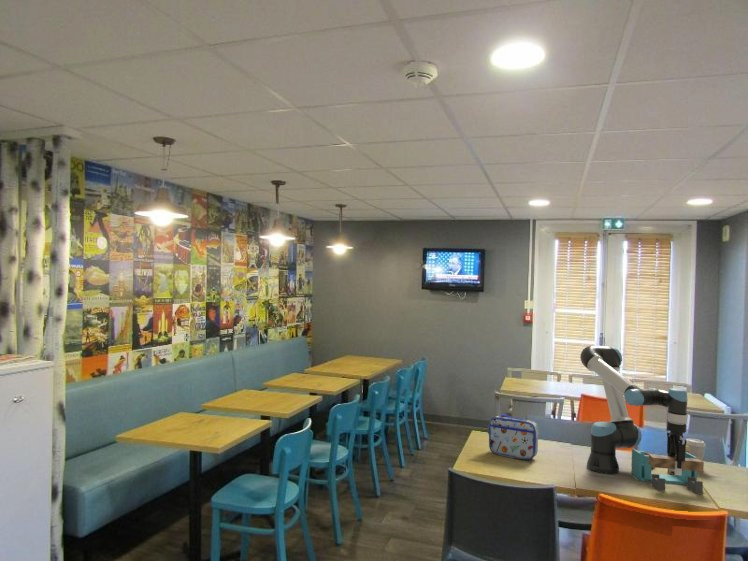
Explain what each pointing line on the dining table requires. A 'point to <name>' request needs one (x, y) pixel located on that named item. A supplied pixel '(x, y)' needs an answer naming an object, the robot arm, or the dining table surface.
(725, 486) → the dining table surface
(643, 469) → the bracket
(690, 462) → the rail
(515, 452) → the lunch box
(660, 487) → the rests
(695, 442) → the coffee cup
